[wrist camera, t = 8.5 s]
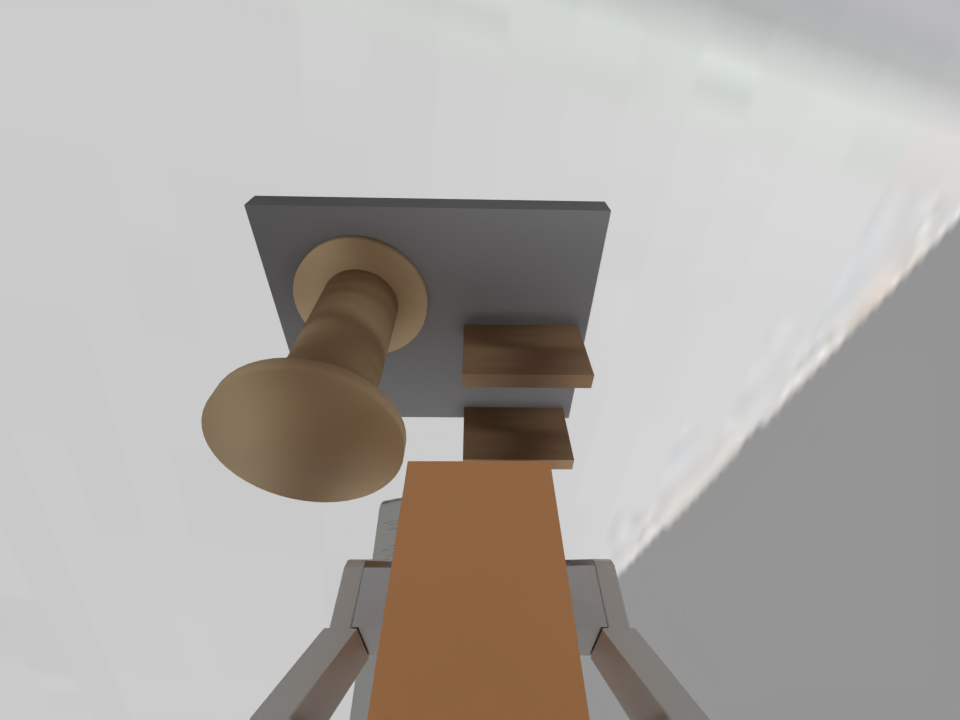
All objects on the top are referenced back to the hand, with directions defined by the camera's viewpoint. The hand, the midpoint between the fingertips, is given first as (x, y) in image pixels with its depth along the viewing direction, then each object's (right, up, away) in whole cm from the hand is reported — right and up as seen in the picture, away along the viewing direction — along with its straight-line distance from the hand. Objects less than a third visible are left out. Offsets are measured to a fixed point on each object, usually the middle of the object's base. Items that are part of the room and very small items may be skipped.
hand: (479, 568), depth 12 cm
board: (-2, +8, +12) cm, 15 cm away
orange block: (0, +1, +2) cm, 2 cm away
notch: (+2, +5, +13) cm, 14 cm away
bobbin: (-6, +9, +10) cm, 15 cm away
